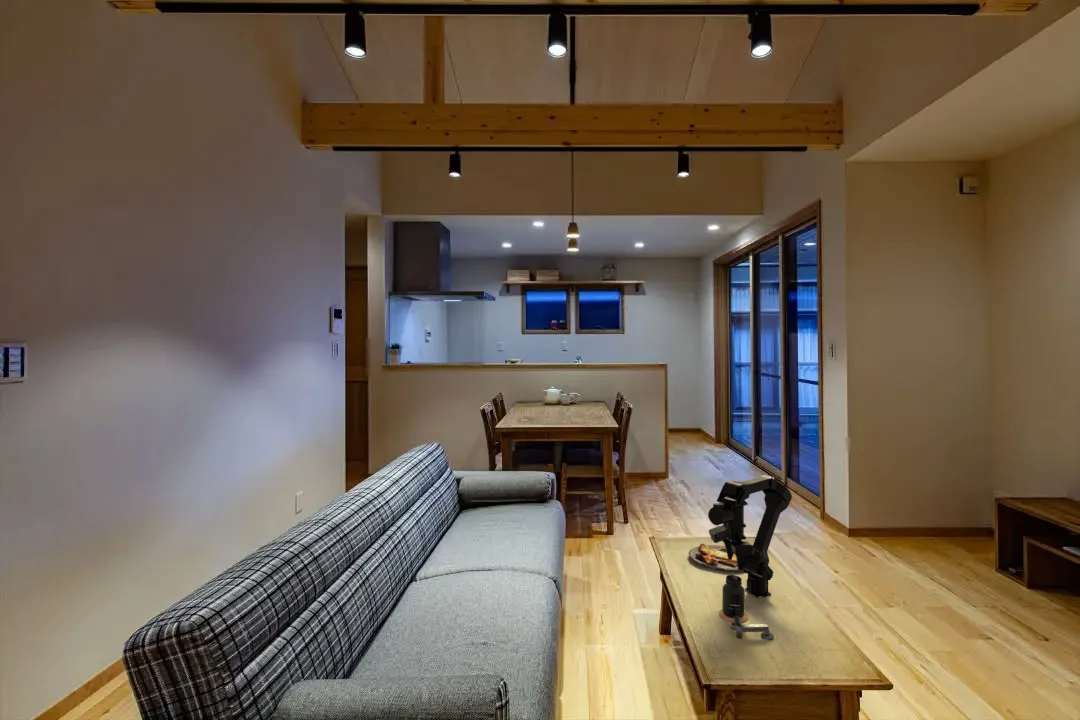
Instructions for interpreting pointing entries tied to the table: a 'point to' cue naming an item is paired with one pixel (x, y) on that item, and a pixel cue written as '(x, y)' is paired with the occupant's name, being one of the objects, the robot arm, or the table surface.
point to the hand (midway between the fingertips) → (734, 564)
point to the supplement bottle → (733, 597)
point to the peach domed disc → (733, 618)
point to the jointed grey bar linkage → (751, 629)
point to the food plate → (713, 556)
